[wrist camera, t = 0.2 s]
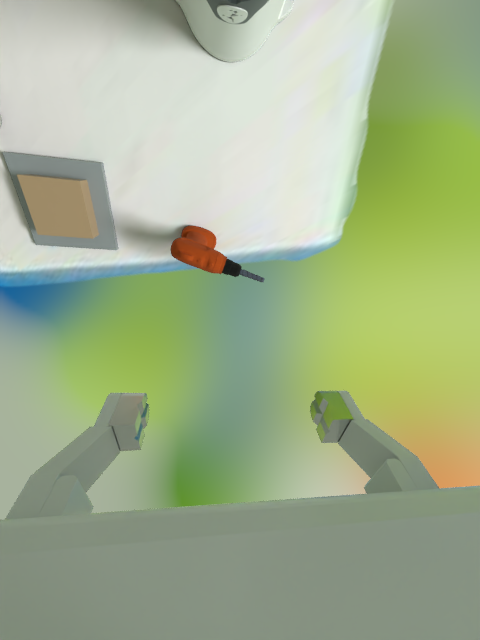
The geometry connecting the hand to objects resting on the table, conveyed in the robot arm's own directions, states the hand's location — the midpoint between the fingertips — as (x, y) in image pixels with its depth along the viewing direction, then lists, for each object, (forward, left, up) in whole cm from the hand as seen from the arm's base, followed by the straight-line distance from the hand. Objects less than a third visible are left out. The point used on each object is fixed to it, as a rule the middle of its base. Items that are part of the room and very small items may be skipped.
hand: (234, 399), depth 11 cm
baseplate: (0, -30, -48) cm, 56 cm away
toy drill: (+6, 0, -48) cm, 48 cm away
